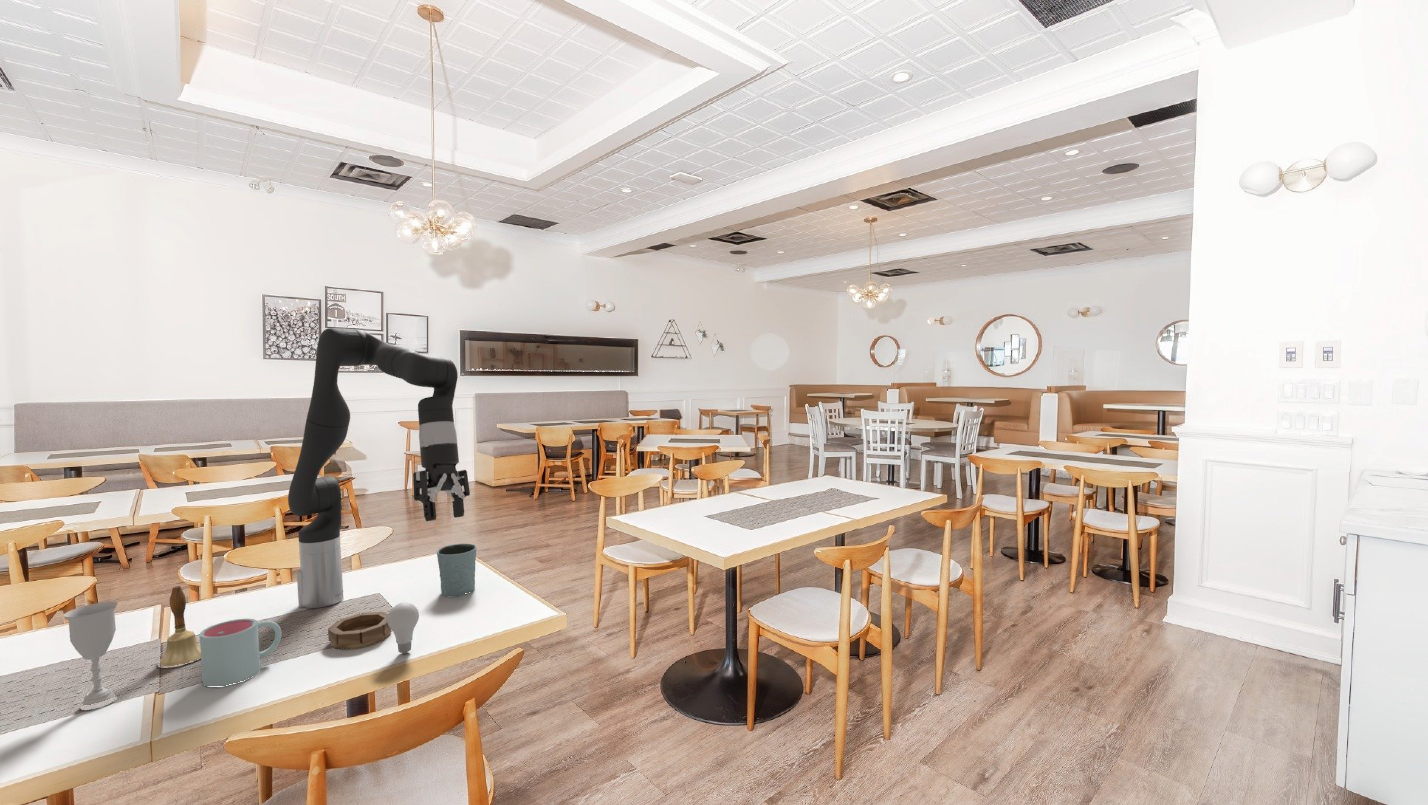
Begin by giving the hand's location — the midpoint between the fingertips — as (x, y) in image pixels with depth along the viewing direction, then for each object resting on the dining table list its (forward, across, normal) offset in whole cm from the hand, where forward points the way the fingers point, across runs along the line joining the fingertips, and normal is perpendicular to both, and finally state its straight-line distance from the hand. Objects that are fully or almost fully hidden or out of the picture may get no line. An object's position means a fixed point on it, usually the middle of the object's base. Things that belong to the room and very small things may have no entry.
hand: (445, 518), depth 132 cm
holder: (+24, -4, -30) cm, 38 cm away
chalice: (+24, +30, -55) cm, 67 cm away
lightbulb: (+27, -1, -14) cm, 31 cm away
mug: (+25, +14, -40) cm, 49 cm away
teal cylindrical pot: (+19, -35, -27) cm, 48 cm away
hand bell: (+21, +14, -59) cm, 64 cm away
